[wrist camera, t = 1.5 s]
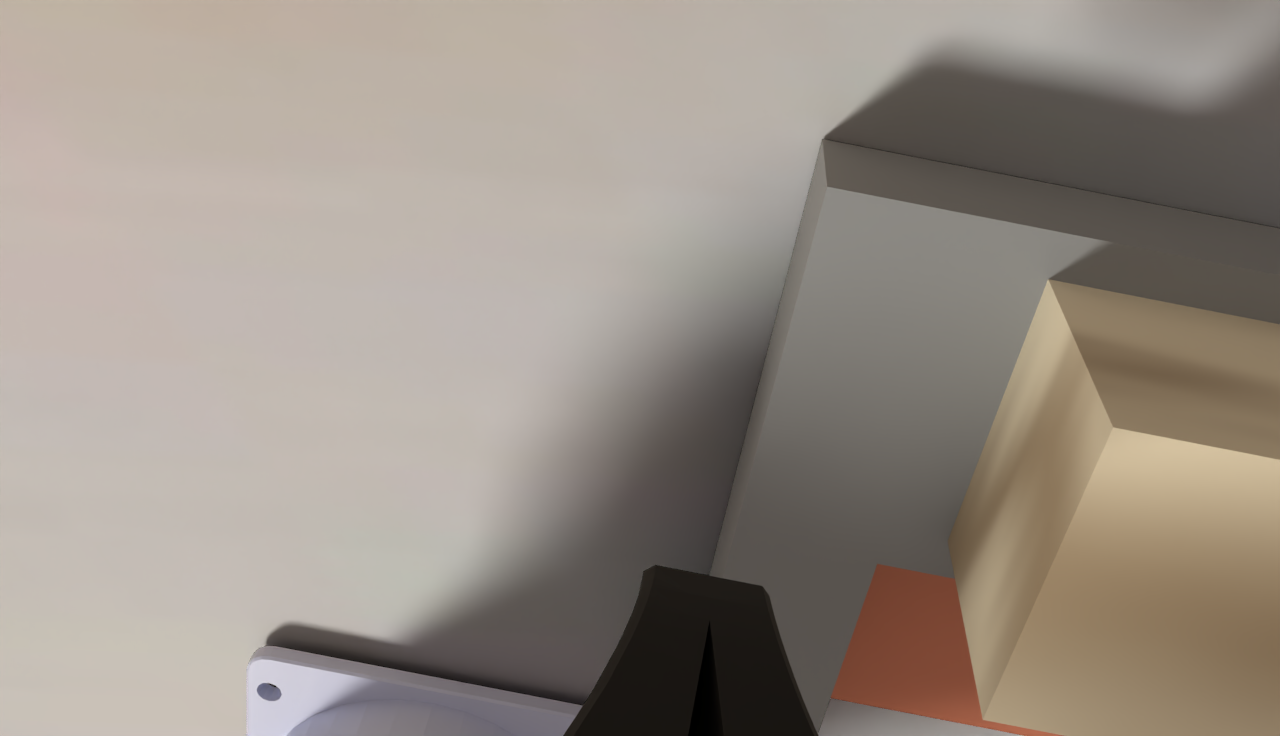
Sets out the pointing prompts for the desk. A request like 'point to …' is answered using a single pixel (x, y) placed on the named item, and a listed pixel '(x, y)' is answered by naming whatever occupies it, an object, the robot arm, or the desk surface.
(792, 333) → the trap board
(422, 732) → the robot arm
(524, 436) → the desk surface
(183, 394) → the desk surface
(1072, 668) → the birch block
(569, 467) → the desk surface
